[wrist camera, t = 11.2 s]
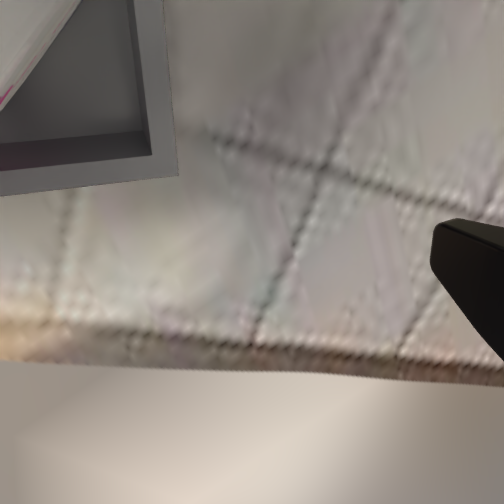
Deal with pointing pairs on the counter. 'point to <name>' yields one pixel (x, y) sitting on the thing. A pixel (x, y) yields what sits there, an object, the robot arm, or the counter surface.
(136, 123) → the bin
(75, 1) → the supplement box
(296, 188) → the counter surface
